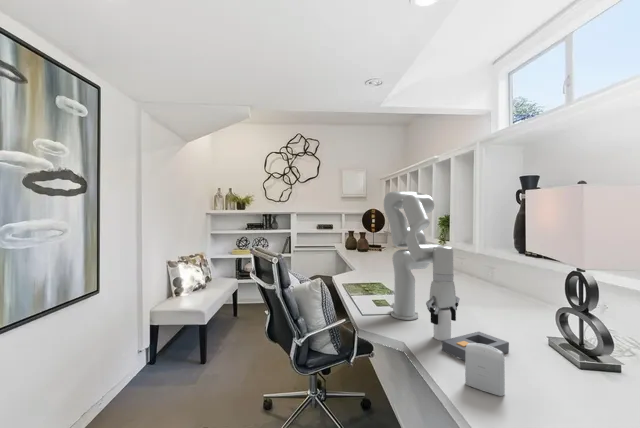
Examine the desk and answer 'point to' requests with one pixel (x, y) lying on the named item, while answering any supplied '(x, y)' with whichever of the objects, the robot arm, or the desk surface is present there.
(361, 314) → the desk surface
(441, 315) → the can
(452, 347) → the grey socket block
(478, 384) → the photo printer
